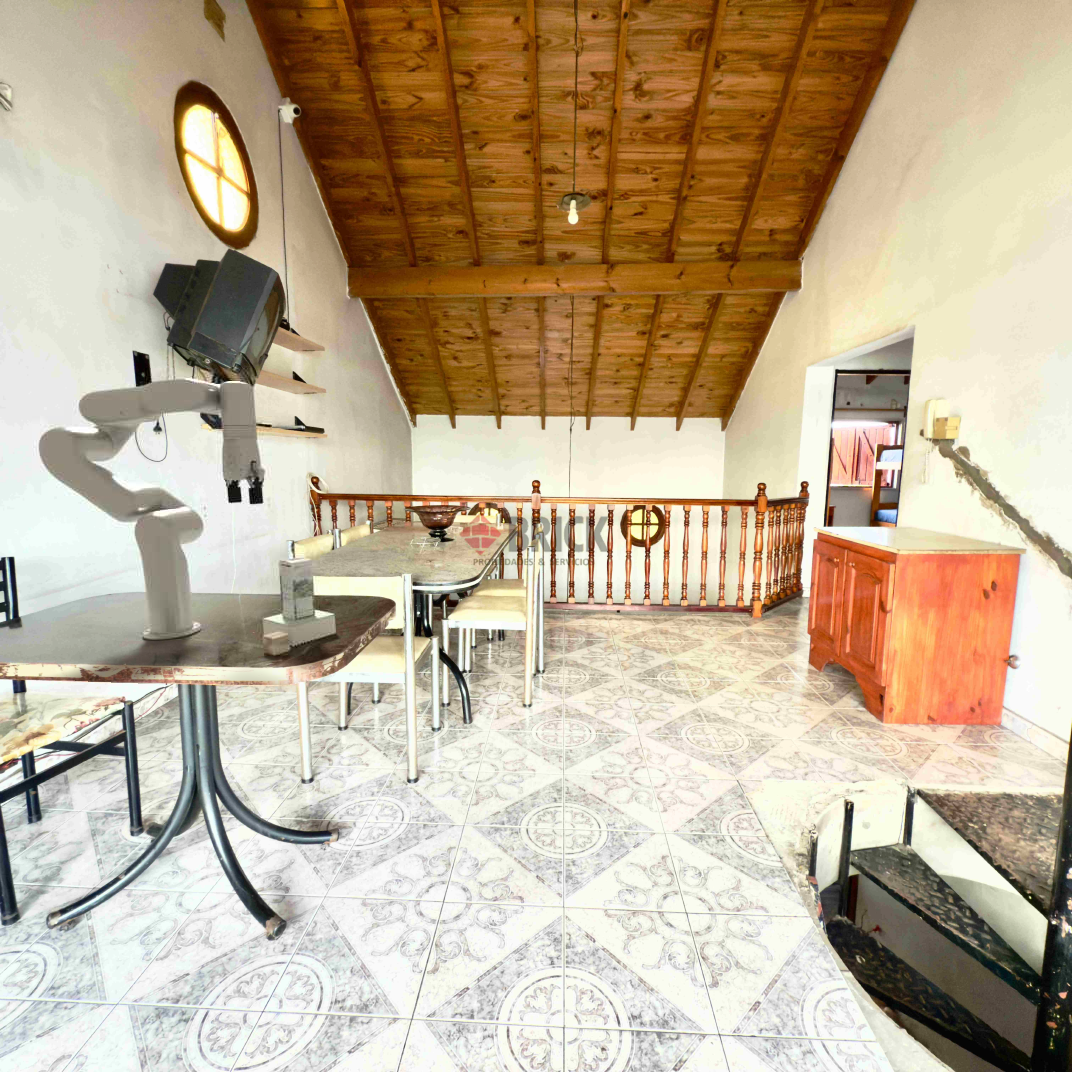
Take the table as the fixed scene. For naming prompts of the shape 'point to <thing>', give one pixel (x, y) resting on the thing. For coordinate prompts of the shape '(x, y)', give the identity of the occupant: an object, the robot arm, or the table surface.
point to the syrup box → (297, 588)
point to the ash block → (276, 643)
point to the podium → (301, 626)
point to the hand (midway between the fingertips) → (245, 503)
